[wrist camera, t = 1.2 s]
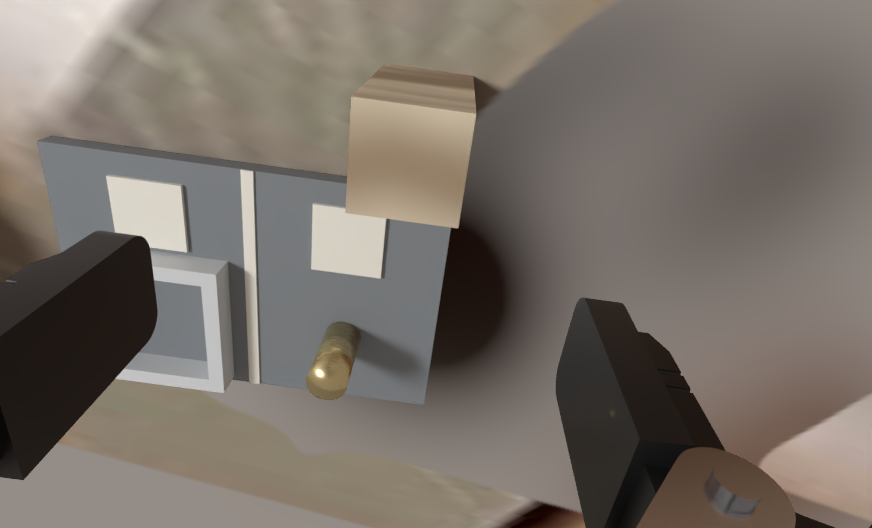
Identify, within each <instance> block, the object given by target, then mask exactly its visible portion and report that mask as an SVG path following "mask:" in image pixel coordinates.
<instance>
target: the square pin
mask: <svg viewBox="0 0 872 528" xmlns="http://www.w3.org/2000/svg"><path fill="white" fill-rule="evenodd" d="M475 120H476V102H475V90H474V78H473V76H469V75H462V74H455V73H448V72H441V71H433V70H426V69H419V68H412V67H405V66H398V65H391V64H384V65H383V66H382V67H381V68H380V69H379V70H378V71H377V72H376V73H375V74H374V75H373V76H372V77H371V78H370V79H369V80H368V81H367V82H366V83H365V84H364V85H363V86H362V87H361V88H360V89H359V90H358V91H357V92H356V93H355V94H354V95H353V96H351V114H350V133H349V152H348V171H347V190H346V209H345V213H349V214H356V215H363V216H371V217H378V218H385V219H393V220H400V221H407V222H415V223H422V224H429V225H437V226H444V227H451V228H458V227H459V220H460V214H461V208H462V202H463V194H464V189H465V183H466V176H467V170H468V164H469V158H470V152H471V145H472V139H473V133H474V127H475Z"/></svg>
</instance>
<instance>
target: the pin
mask: <svg viewBox="0 0 872 528" xmlns="http://www.w3.org/2000/svg"><path fill="white" fill-rule="evenodd" d="M360 341H361V335H360V332H359V331H358V329H357V328H356V327H355V326H353V325H352V324H350V323H347V322H335V323H332V324H331V325H329V326H328V327H327V329H326V331H325V334H324V336H323V339H322V341H321V343H320V346H319V348H318V351H317V353H316V356H315V358H314V361H313V363H312V366H311V368H310V371H309V373H308V376H307V378H306V385H307V388H308V390H309V391H310V392H311V393H312V394H313V395H314V396H316V397H318V398H320V399H325V400H334V399H337V398H339V397H341V396H342V395H343V394H344V393H345V391H346V389H347V385H348V382H349V379H350V375H351V372H352V368H353V365H354V362H355V358H356V355H357V351H358V348H359V345H360Z"/></svg>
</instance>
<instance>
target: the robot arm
mask: <svg viewBox="0 0 872 528" xmlns="http://www.w3.org/2000/svg"><path fill="white" fill-rule="evenodd" d="M157 316H158V309H157V300H156V292H155V284H154V276H153V268H152V259H151V251H150V247H149V244H148V242H147V240H146V239H145V238H144V237H142V236H137V235H130V234H123V233H115V232H108V231H99V230H98V231H95V232H93V233H91V234H90V235H88V236H87V237H85V238H83V239H82V240H80V241H79V242H77V243H76V244H74V245H73V246H71V247H70V248H68V249H67V250H65V251H63V252H62V253H60V254H57V255H54V256H51V257H49V258H46V259H43V260H40V261H37V262H34V263H32V264H30V265H28V266H26V267H25V268H23V269H22V270H20V271H18V272H17V273H15V274H14V275H12V276H11V277H9V278H7V279H6V283H3V282H1V283H0V477H4V478H11V479H19V480H24V479H25V477H27V476H28V474H29V473H30V472H31V471H32V470H33V469H34V468H35V467H36V466H37V464H38V463H39V462H40V461H41V460H42V459H43V458H44V457H45V456H46V454H47V453H48V452H49V451H50V450H51V449H52V448H53V447H54V445H56V443H57V442H58V441H59V440H60V439H61V438H62V437H63V436H64V435H65V433H66V432H67V431H68V430H69V429H70V428H71V427H72V426H73V425H74V424H75V422H76V421H77V420H78V419H79V418H80V417H81V416H82V415H83V414H84V412H85V411H86V410H87V409H88V408H89V407H90V406H91V405H92V404H93V402H94V401H95V400H96V399H97V398H98V397H99V396H100V395H101V394H102V393H103V391H104V390H105V389H106V388H107V387H108V386H109V385H110V384H111V383H112V381H113V380H114V379H115V378H116V377H117V376H118V375H119V374H120V373H121V372H122V370H123V369H124V368H125V367H126V366H127V365H128V364H129V363H130V362H131V360H132V359H133V358H134V357H135V356H136V355H137V354H138V353H139V352H140V350H141V349H142V348H143V347H144V346H145V345H146V344H147V343H148V341H149V340H150V338H151V337H152V335H153V332H154V330H155V327H156V322H157ZM680 373H681V371H680V370H679V368H678V366H677V364H676V363H675V361H674V359H673V357H672V355H671V354H670V352H669V351H668V350H667V349H666V348H665V347H663V346H662V345H661V344H660V343H659V342H658V341H657V340H655V339H654V338H653V337H652V336H651V335H650V334H648V333H642V332H638V331H637V329H636V327H635V325H634V323H633V321H632V319H631V317H630V315H629V313H628V312H627V309H626V307H625V306H624V305H623V304H622V303H618V302H611V301H603V300H596V299H589V298H581V299H579V301H578V302H577V304H576V307H575V310H574V313H573V317H572V320H571V323H570V327H569V330H568V334H567V337H566V341H565V344H564V348H563V351H562V355H561V358H560V361H559V365H558V370H557V377H556V396H557V402H558V406H559V411H560V415H561V420H562V424H563V428H564V433H565V437H566V442H567V446H568V451H569V455H570V459H571V464H572V468H573V473H574V477H575V482H576V486H577V491H578V495H579V499H580V504H581V509H582V513H583V517H584V522H585V526H586V528H834V527H832V526H829V525H826V524H824V523H821V522H818V521H816V520H813V519H810V518H808V517H805V516H802V515H800V514H798V513H795V511H794V508H793V506H792V503H791V501H790V500H789V498H788V496H787V495H786V493H785V492H784V491H783V489H782V488H781V487H780V486H779V485H778V484H777V483H776V482H775V481H774V480H773V479H772V478H771V477H770V476H769V475H768V474H766V473H765V472H764V471H763V470H761V469H760V468H758V467H757V466H756V465H754V464H752V463H750V462H749V461H747V460H745V459H743V458H741V457H739V456H737V455H735V454H732V453H730V452H727V451H725V449H724V447H723V445H722V444H721V442H720V440H719V438H718V437H717V435H716V433H715V431H714V430H713V428H712V426H711V424H710V423H709V421H708V419H707V417H706V415H705V414H704V412H703V410H702V409H701V407H700V405H699V403H698V401H697V400H696V398H695V396H694V395H693V393H690V387H689V385H688V384H687V382H686V380H685V378H684V377H683V376H681V375H680ZM869 528H872V525H871V526H870V527H869Z"/></svg>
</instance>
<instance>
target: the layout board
mask: <svg viewBox="0 0 872 528" xmlns="http://www.w3.org/2000/svg"><path fill="white" fill-rule="evenodd" d="M37 144H38V149H39V153H40V158H41V162H42V167H43V172H44V176H45V181H46V185H47V190H48V195H49V199H50V204H51V208H52V213H53V218H54V222H55V227H56V231H57V236H58V241H59V245H60V250H61V253H62V252H63V251H65V250H67V249H68V248H70V247H71V246H73V245H74V244H76V243H77V242H79V241H80V240H82V239H83V238H85V237H87V236H88V235H90V234H91V233H93V232H95V231H98V230H99V231H108V232H115V233H123V234H130V235H137V236H142V237H144V238H145V239H146V240H147V242H148V244H149V247H150V251H151V259H152V268H153V276H154V284H155V292H156V300H157V309H158V316H157V322H156V327H155V330H154V332H153V335H152V337H151V338H150V340H149V341H148V343H147V344H146V345H145V346H144V347H143V348H142V349H141V350H140V352H139V353H138V354H137V355H136V356H135V357H134V358H133V359H132V360H131V362H130V363H129V364H128V365H127V366H126V367H125V368H124V369H123V370H122V372H121V373H120V374H119V375H118V376H117V377H116V378H115V379H121V380H129V381H137V382H144V383H152V384H159V385H167V386H175V387H182V388H190V389H197V390H205V391H213V392H220V393H224V392H225V391H226V389H227V387H228V386H229V384H230V382H231V380H240V381H248V382H249V383H254V384H260V383H263V384H270V385H278V386H286V387H293V388H300V389H308V388H307V385H306V378H307V376H308V373H309V371H310V368H311V366H312V363H313V361H314V358H315V356H316V353H317V351H318V348H319V346H320V343H321V341H322V339H323V336H324V334H325V331H326V329H327V327H328V326H329V325H331V324H332V323H335V322H347V323H350V324H352V325H353V326H355V327H356V328H357V329H358V331H359V332H360V335H361V341H360V345H359V348H358V351H357V355H356V358H355V362H354V365H353V368H352V372H351V375H350V379H349V382H348V385H347V389H346V391H345V393H344V394H346V395H354V396H361V397H369V398H376V399H384V400H391V401H400V402H407V403H415V404H422V405H424V401H425V394H426V388H427V382H428V374H429V368H430V361H431V355H432V349H433V342H434V336H435V329H436V322H437V316H438V310H439V303H440V297H441V290H442V283H443V277H444V270H445V264H446V257H447V251H448V243H449V237H450V231H451V227H444V226H437V225H429V224H422V223H415V222H407V221H400V220H393V219H385V218H378V217H371V216H363V215H356V214H349V213H345V209H346V190H347V177H346V176H339V175H331V174H324V173H317V172H310V171H302V170H295V169H288V168H281V167H273V166H266V165H259V164H252V163H244V162H237V161H230V160H223V159H215V158H208V157H201V156H194V155H186V154H179V153H172V152H165V151H157V150H150V149H143V148H136V147H128V146H121V145H114V144H107V143H99V142H92V141H85V140H78V139H70V138H63V137H56V136H49V137H47V138H44V139H41V140H38V141H37Z"/></svg>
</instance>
